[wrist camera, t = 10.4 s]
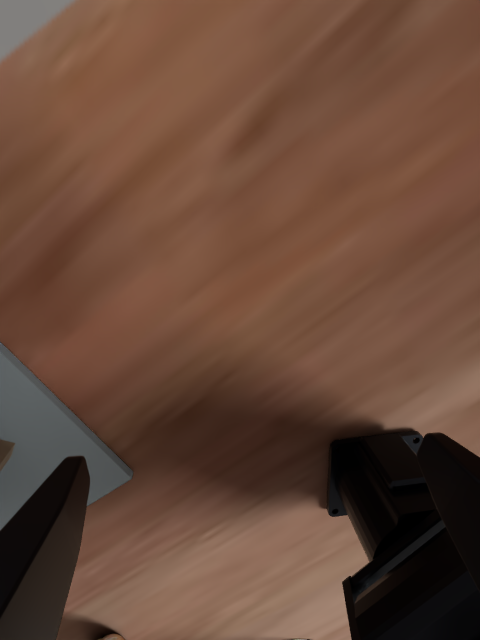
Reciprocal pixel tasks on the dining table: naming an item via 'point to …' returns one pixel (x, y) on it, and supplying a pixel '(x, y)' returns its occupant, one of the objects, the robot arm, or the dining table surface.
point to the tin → (112, 637)
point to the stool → (5, 452)
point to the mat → (45, 440)
